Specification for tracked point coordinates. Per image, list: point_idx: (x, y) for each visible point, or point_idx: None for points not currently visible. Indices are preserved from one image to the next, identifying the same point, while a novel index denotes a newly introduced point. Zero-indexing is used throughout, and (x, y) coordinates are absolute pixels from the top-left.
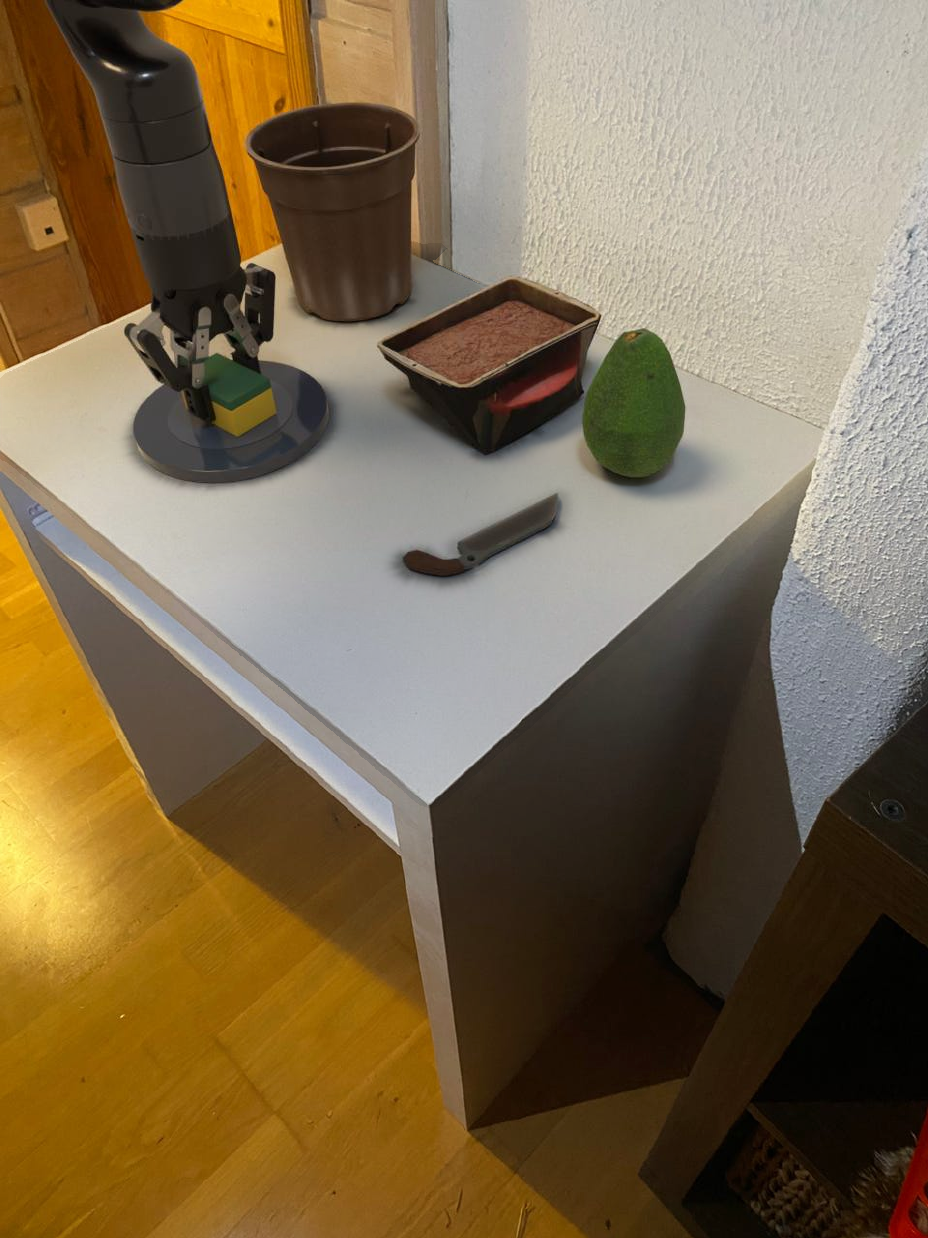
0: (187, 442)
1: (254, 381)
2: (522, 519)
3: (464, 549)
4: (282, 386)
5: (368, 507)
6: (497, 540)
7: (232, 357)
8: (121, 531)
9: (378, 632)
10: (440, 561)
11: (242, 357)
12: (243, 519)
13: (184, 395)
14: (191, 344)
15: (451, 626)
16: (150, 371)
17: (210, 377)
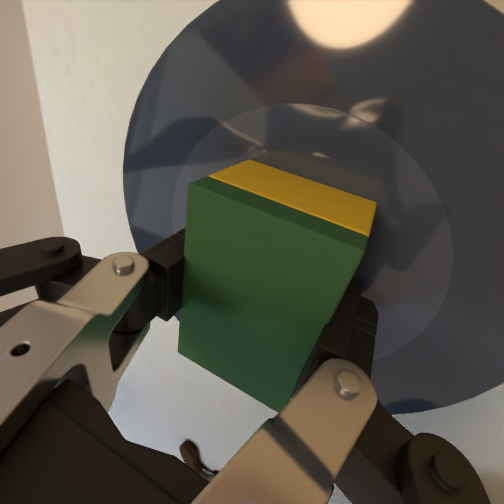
0: (175, 226)
1: (258, 388)
2: None
3: (210, 479)
4: (418, 335)
5: (223, 423)
6: None
7: (322, 333)
8: (68, 212)
9: (139, 418)
10: (190, 465)
11: (307, 378)
12: (151, 325)
13: (156, 245)
14: (82, 375)
15: (165, 451)
16: (1, 249)
17: (223, 290)
